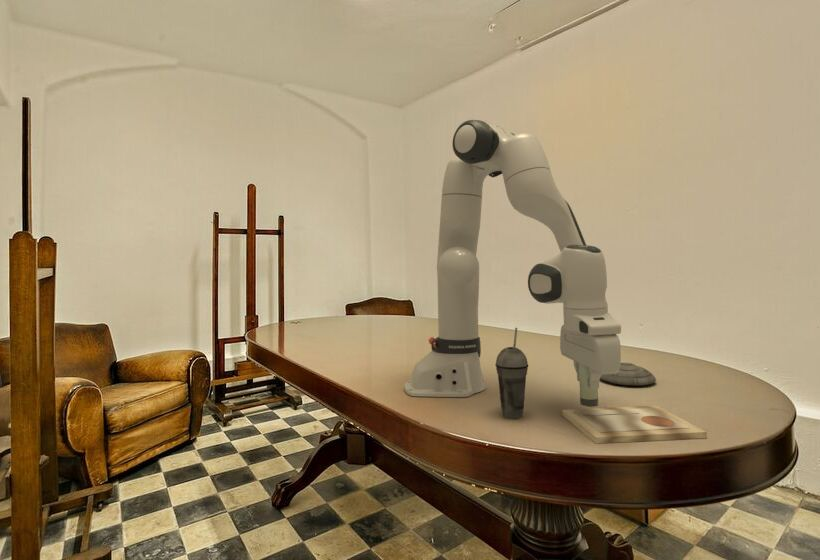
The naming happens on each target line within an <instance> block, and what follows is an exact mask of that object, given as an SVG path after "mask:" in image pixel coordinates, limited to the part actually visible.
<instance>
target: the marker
mask: <svg viewBox="0 0 820 560" xmlns="http://www.w3.org/2000/svg"><path fill="white" fill-rule="evenodd" d="M589 378H590V373H589V368H588V367H586V366H584V365H582V364H580V363H579V381H578V382H579V398H580V399H579V401H580V402H579V404H580V406H584V407H588V408H590V407H591V408H593V407H597V406H599V388H598V389H591V388H590V387H588V379H589Z"/></svg>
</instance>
